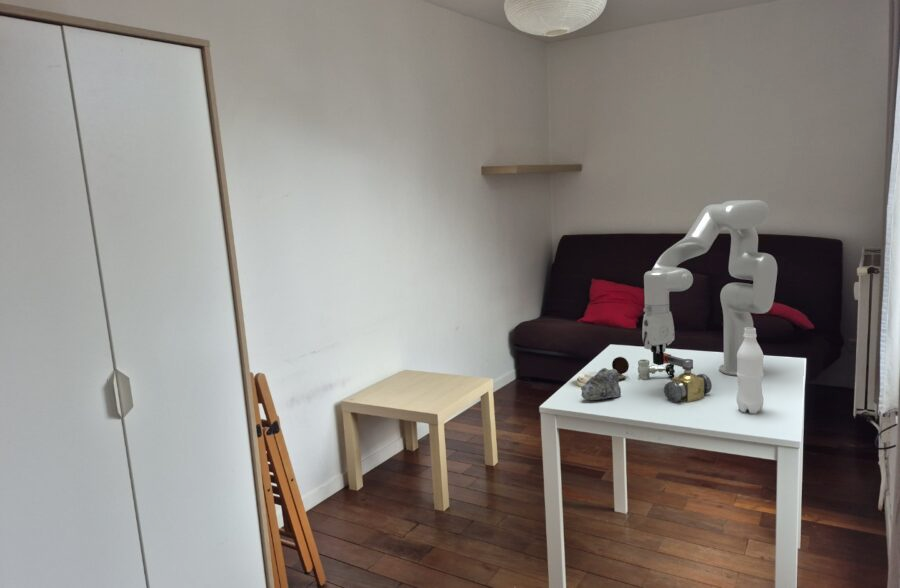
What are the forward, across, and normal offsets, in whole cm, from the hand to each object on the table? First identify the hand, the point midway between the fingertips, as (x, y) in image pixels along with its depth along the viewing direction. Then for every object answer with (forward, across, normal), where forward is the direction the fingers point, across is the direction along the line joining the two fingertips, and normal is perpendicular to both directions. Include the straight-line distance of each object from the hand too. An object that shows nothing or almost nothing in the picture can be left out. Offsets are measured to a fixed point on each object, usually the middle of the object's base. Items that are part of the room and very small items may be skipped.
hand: (658, 363), depth 214 cm
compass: (+10, +1, +20) cm, 22 cm away
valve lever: (0, +4, -3) cm, 5 cm away
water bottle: (+10, +8, -28) cm, 31 cm away
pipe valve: (+10, +4, -9) cm, 14 cm away
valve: (+10, +10, +12) cm, 19 cm away
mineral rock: (+10, -17, +8) cm, 22 cm away
